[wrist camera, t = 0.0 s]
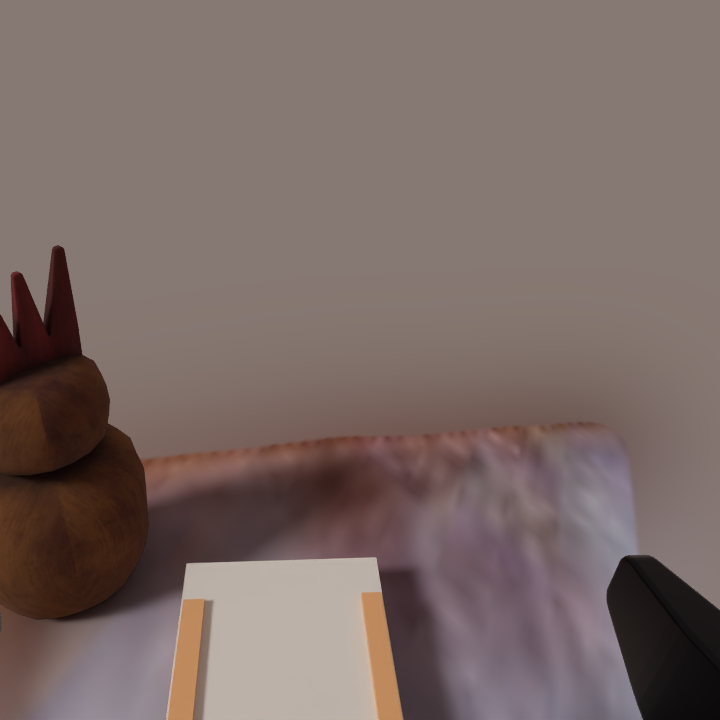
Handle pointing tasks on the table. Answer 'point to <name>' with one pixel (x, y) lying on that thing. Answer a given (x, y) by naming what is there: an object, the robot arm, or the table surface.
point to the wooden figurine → (61, 464)
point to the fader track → (283, 643)
